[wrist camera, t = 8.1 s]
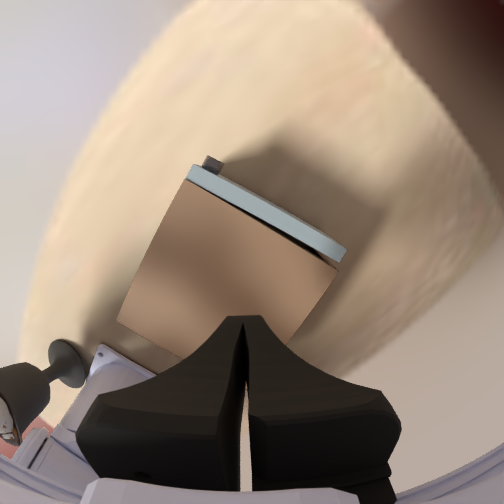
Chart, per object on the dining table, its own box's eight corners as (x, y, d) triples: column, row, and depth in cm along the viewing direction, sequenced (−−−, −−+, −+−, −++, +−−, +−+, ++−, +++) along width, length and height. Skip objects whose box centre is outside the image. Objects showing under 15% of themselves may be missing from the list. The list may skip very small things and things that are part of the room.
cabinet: (248, 347, 21) (248, 390, 16) (142, 289, 20) (115, 320, 15) (317, 248, 19) (338, 271, 15) (201, 178, 18) (184, 178, 13)
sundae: (94, 349, 21) (-40, 430, 6) (92, 406, 21) (-7, 493, 6) (43, 319, 21) (-82, 366, 6) (44, 375, 22) (-56, 434, 7)
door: (318, 243, 19) (339, 262, 15) (200, 178, 18) (185, 178, 13) (330, 224, 19) (354, 238, 14) (211, 157, 18) (199, 151, 13)
